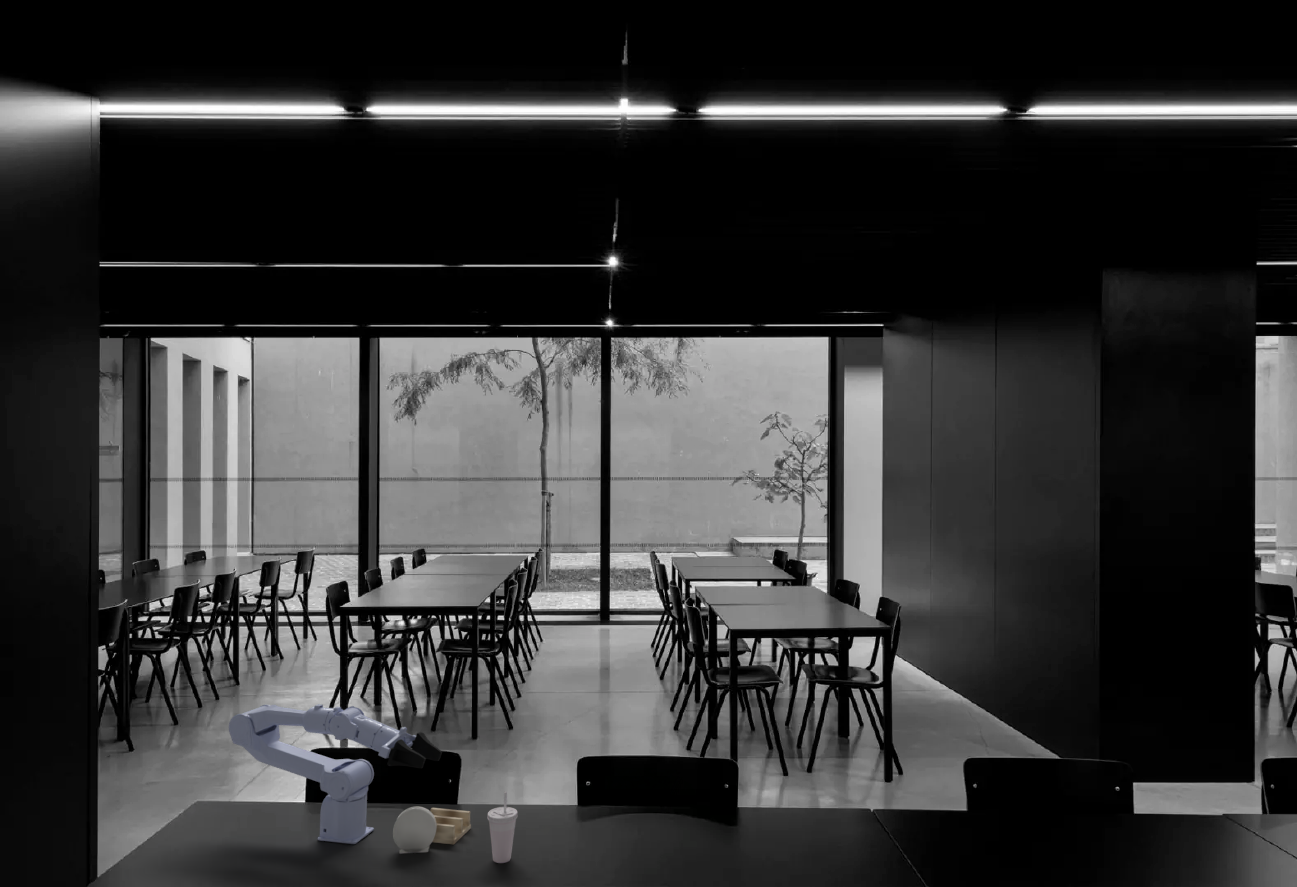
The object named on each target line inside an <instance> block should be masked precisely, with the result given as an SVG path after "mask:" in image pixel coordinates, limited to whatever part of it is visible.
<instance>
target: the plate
mask: <svg viewBox="0 0 1297 887" xmlns="http://www.w3.org/2000/svg"><path fill="white" fill-rule="evenodd" d="M436 829H437V823H436V819H435V817H434V815H433V814H432V813H431V810H429V809H428V808H426V807H423V806H411V807H408V808H406V809H405V810H403V811H402V812H400V814H399V815H398V817H396V821H395V822H394V825H393V829H392V837H393V841H394V843H395V845H396V846H397V847H398V848H399V851H398V852H399V854H413V853H414V854H416V853H429V850H430V845H431V844H432V843H433V842H432V841H433V839H434V837H435V833H436Z"/></svg>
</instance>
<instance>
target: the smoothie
mask: <svg viewBox="0 0 1297 887" xmlns="http://www.w3.org/2000/svg"><path fill="white" fill-rule="evenodd" d="M507 797H508V794H507V791H504V792H503V806H498V807H495V808H492V809H490V810H489V811H488V812H487V817H486V818H487V821H488V823H489V834H490V842H491V852H492V861H493V862H494V863H498V864H504V863H508V862H510V860H511V859H512V851H513V845H514V843H513V842H514V836H515V830H516V829H515V828H516V823H517V822H516V821H517V819H518V810H517V809H516V808H514V807H511V806H510V807H509V806H507V805H508V804H507V802H508V800H507Z"/></svg>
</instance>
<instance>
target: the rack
mask: <svg viewBox="0 0 1297 887" xmlns="http://www.w3.org/2000/svg"><path fill="white" fill-rule="evenodd" d="M430 812H431V813H432V814H433V815H434V817H435V819H436V823H437V829H436V833H435V837H434V839H433V841H432V843H436V844H437V843H438V844H445V845H446V844H447V845H455V844H456V843H457V842H458V841H460V839H461V838H463V836H464V835H465V834H467V833H468V832H469V830H471V828H472V824H471V810H470V811H469V810H460V809H458V810H457V809H449V808H439V807H431V808H430Z"/></svg>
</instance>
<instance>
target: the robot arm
mask: <svg viewBox="0 0 1297 887" xmlns="http://www.w3.org/2000/svg"><path fill="white" fill-rule="evenodd" d="M280 726H288V727H290V726H292V727H293V726H294V727H303V729H304V730H305V732H307V733H309V734H310V733H312V734H320V735H322V734H323V735H331V736H333V737H334V739H335V740H336V741H342V740H345V739H346V740H347V739H348V740H350V741H353V742H355V743H357V744H359V745H362V746H364V747H367V748H369V749H372V750H373V751H375V752H378V755H377V756H379V757H381V758H384V759H388V760H387V764H386V765H387V766H388V767H394V766H397V767H398V766H403V767H410V768H417V769H423V768H424V765H425V763H426V760H430V761H433V762H434V761H435V762H439V761H440V760H441V757H442V754H443V751H441V749H439V748H438V747H437V746H436V745H434V744H433V743H432V742H431V741H430V740H429V739H428V737H427V735H426V733H424V732H422V731H419V732H417V733H416V735H415V734H413V735H412V734H410V733H408V732H407V730H408V728H407V727H406V726H403V727H400V729H396V728H395V727H392V726H390V725H387V724H386V723H383V722H380V721H378V720H375V719H373V718H370V717H368V716H366V715H365V713H364V711H363V710H362V709H361V708H359V707H356V706H354V705H352V706H349V707H346V708H345V709H343V708H342V707H341V706H334V707H324V705H323V704H322V703H321V704H320V703H317V704H315V705H313V706H312V707H309V709H307V710H303V709H296V708H290V707H283V706H278V705H277V704H262V705H260V706H258V707H256V708H254V709H250V710H248V711H245V712H243V713H237V714H235V715H234V716H232V717H231V719H230V721H229V722H228V732H229V735H230V738H231V741H232V743H233V744H234V745H237V746H240V747H243V749H245V750H246V751H247V753H249V754H250V755H251V756H252V757H253V758H254V759H255V760H256V761H258V762H259V763H261V764H265V765H268V766H270V767H275V768H277V769H279V770H283V771H286V772H288V773H291V774H294V775H297V776H301V777H304V778H306V779H309V780H312V781H315V782H318V783H319V787H320V790H321V791H322V792H325V793H326V794H327V795H326V796H325V798H324V799H323V801H322V803H321V807H320V813H319V814H320V819H319V836H318V837H317V841H322V842H324V841H325V842H332V843H340V844H348V845H349V844H350V845H355V844H358V843H359V842H360V841H361V840H363V839H364V838H365V837H366V836H368V835H369V834H370V833H371V832H373V831H375V828H374V827H371V826H367V810H368V809H367V804H368V801H367V800H368V791H369V785H370V784H371V783H372V782H373V781H374V780H373V779H374V776H375V772H374V768H373V765H372V764H371V763H370V761H369V760H366V759H363V758H359V759H350V758H343V759H342V758H341V759H334V758H331V757H328V756H325V755H322V754H318V753H316V752H313V751H310V750H307V749H304V748H302V747H299V746H298V747H297V746H295V745H292V744H289V743H286V742H283V741H280V739H281V732H280Z"/></svg>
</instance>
